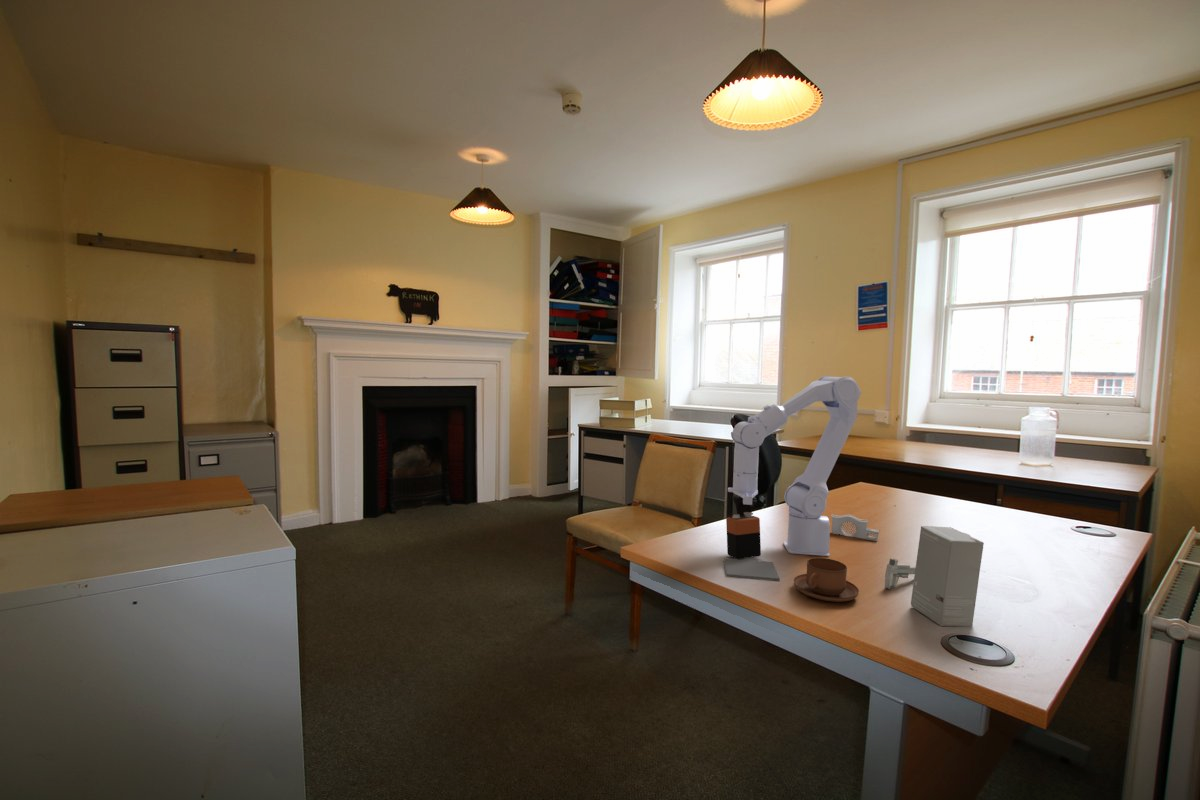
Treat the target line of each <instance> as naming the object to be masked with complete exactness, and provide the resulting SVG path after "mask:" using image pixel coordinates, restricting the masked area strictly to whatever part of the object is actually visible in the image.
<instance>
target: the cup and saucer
mask: <svg viewBox="0 0 1200 800" xmlns="http://www.w3.org/2000/svg"><path fill="white" fill-rule="evenodd" d="M847 569H848V567H847V565H846V564H845V563H843V562H841V561H840V560H839V561H838V560H836V559H832V558H826V557H813V558H812V557H811V558H809V559H808V560H807V562H806V573H803V574H799V575H797V576H795V577H794V579H793V583H794V586H795V588H797V590H799V591H800V593H802V594H804V595H805V596H808V597H810V598H813V599H816V600H819V601H824V602H830V603H831V602H832V603H843V602H849V601H852V600H854V599H855V598H857V597H858V596H859V594H860V593H859V592H860V590H859V588H858V587H857V585H855V584H854V583H852V582H851V581H848V580H847V571H848V570H847Z"/></svg>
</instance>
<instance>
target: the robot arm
mask: <svg viewBox="0 0 1200 800" xmlns="http://www.w3.org/2000/svg"><path fill="white" fill-rule="evenodd" d="M861 395H862V391H861V389H860V386H859V385H858V383H857V381H856V379H854V378H853V377H852V376H842V377H841V376H829V375H825V376H820V377H819V378H818V379H817V380H814V381H812V382H811V383H810V384H809V385H807V386H805V388H804V389H802V390H800V391H799V392H797V393H796V394H795V395H793V396H791V398H789V399H788V400H786V401H785V402H783V403H782V404H781V405H778V404H770V405H769V404H767V405H765V406H764V407H763V410H762V411H760V412H758V413H757V414H755V415H753V416H752V415H751V416H748V417H747V421H740V422H738V423H737V424H735V425H734V427H733V429H732V431H731V432H730V436H731V437H730V438H731V439H732V441H733V442H734V455H733V474H732V475H733V477H732V487H727V492H728V493H733V494H735V495H737V496H732V501H733V503H734V506H735V509H736V514H739V515H740V516H742V515H744V513H745V512H752V511H753V509H754V507H755V506H756V504H757V501H758V500H757V497H756V496H757V495H758V494H759V490H758V479H759V477H758V474H759V458H760V457H759V456H760V455H759V453H760V446H762V444H763V443H764V440H765V438H767V437H768V436H770V435H771V434H773V433H775V432H776V431H778V430H779V429H781V428H782V427H784V426H786V425H787V423H788V420H789V417H791V416H793V415H794V414H796V413H797V412H800V411H801V410H803V409H806V408H807V407H809V406H811V405H812V404H814V403H816V402H821V403H822V404H823V405H824V407H825V408H826V409H827V411H828V413H829V415H830V417H829V420H828V422H827V424H826V427H825V429H824V431H823V432H822V435H821V437H820V439H819V441H818V443H817V445H816V447H815V449H814V451H813V453H812V455H811V457H810V459H809V462H808V463H807V466H806V468H805V470H804V472H803V473H802V474H800V475H798V476H797V477H795V479H794V481H793V483H791V485H789V486H788V487H787V488H786V489H785V492H784V496H783V497H784V501H785V504H786V506H788V521H787V522H788V523H787V524H788V525H787V541H783V542H782V543H783V545H784V547H785V550H787V552H788V554H795V555H807V556H808V555H810V556H821V557H822V556H825V557H830V555H831V554H830V542H831V541H830V539H831V538H830V537H831V535H830V534H831V526H830V525H831V524H830V519H829V517H828V516H827V515H823V513H824V512H825V510H826V509H827V500H828V499H827V498H828V496H829V493H830V492H829V489H828V486H827V481H828V479H829V477H830V475H831V473H832V471H833V469H834V467H835V465H836V462H837V460H838V458H839V456H840V454H841V452H842V450H843V448H844V446H845V443H846V441H847V440H848V437H849V435H850V433H851V431H852V429H853V426H854V425H855V423H856V421H857V417H858V401H859V399H860V397H861ZM752 513H753V512H752Z"/></svg>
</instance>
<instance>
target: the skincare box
mask: <svg viewBox="0 0 1200 800" xmlns="http://www.w3.org/2000/svg"><path fill="white" fill-rule="evenodd" d="M984 545H985V543H984V542H983V541H982V540H979V539H977V538H975V537H973V536H971V534H969V533H965V532H962V531H959V530H958V529H955V528H954V527H951V526H949V527H948V526H933V525H921V526H920V532H919V541H918V546H917V555H916V561H915V562H916V563H915V566H916V568H915V574H914V576H913V583H912V584H913V585H912V591H911V592H912V594H911V599H910V605H911V607H912V608H913V609H914V610H917V611H918V612H920V613H921V614H922V615H924V616H926V617H927V618H928V619H930V620H931V621H933V622H934V623H936V624H938V625H939V626H940V627H941V626H942V627H949V626H950V627H954V626H956V627H970V626H971V627H972V626H973V623H974V617H975V616H974V615H975V609H976V602H977V594H978V588H979V582H980V581H979V580H980V579H979V578H980V571H981V566H982V565H981V564H982V558H983V551H984Z"/></svg>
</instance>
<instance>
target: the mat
mask: <svg viewBox="0 0 1200 800" xmlns="http://www.w3.org/2000/svg"><path fill="white" fill-rule="evenodd" d="M723 563H724V564H723V565H724V570H725V575H726V577H728V578H729V577H730V578H738V579H740V578H742V579H752V580H753V579H754V580H755V579H756V580H762V581H763V580H766V581H767V580H768V581H778V582H780V581H781V578H780V575H779V573H778V571H777V569H776V566H775V564H774V562H773V561H767V560H764V561H763V560H754V559H753V560H751V559H750V560H749V559H736V558H726V557H724V558H723Z"/></svg>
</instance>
